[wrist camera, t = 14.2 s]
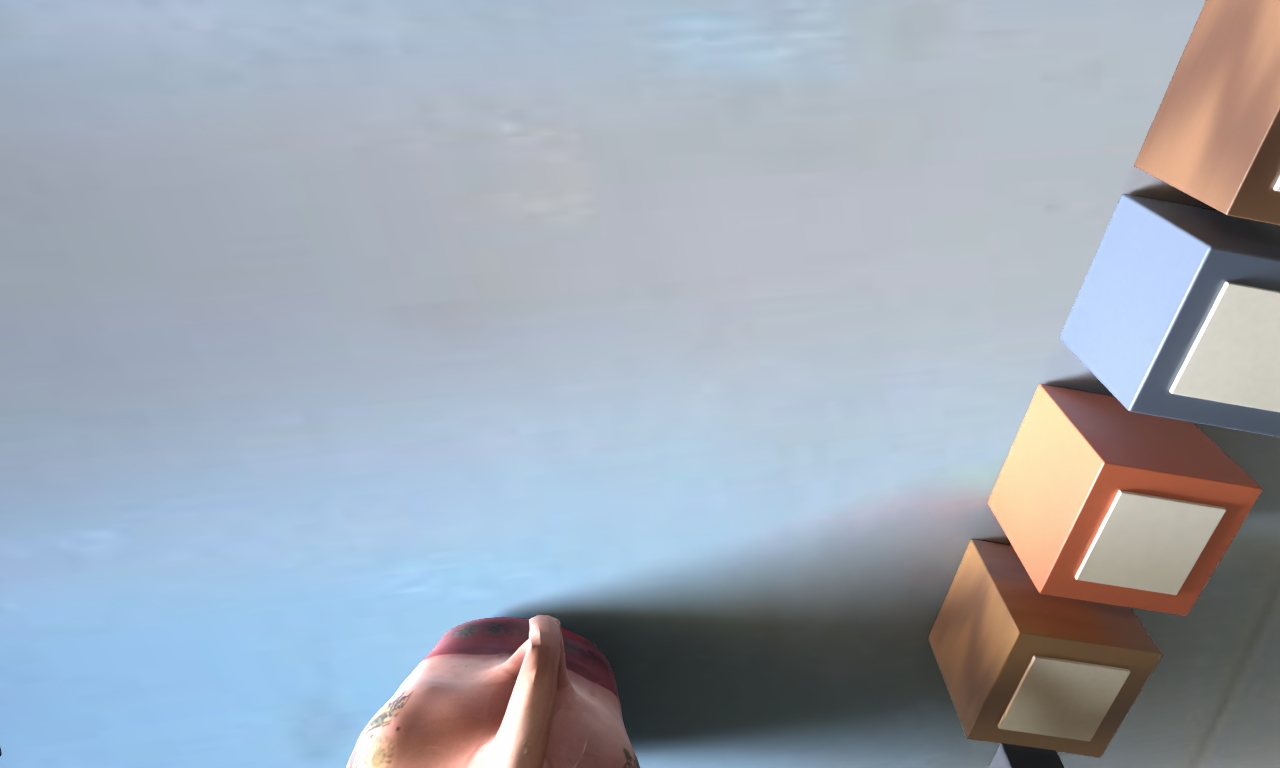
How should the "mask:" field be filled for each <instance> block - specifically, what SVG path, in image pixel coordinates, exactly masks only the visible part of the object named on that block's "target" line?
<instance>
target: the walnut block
mask: <svg viewBox="0 0 1280 768" xmlns="http://www.w3.org/2000/svg"><path fill="white" fill-rule="evenodd" d="M1134 166H1135V167H1137V168H1139V169H1141V170H1143V171H1144V172H1146V173H1148V174H1150V175H1152V176H1154V177H1156V178H1158V179H1160V180H1161V181H1163V182H1165V183H1167V184H1169V185H1171V186H1173V187H1175V188H1177V189H1178V190H1180V191H1182V192H1184V193H1186V194H1188V195H1190V196H1192V197H1194V198H1195V199H1197V200H1199V201H1201V202H1203V203H1205V204H1207V205H1209V206H1211V207H1212V208H1214V209H1216V210H1218V211H1220V212H1222V213H1224V214H1226V215H1229V216H1234V217H1239V218H1245V219H1250V220H1255V221H1260V222H1266V223H1271V224H1276V225H1280V0H1206V2H1205V4H1204V6H1203V9H1202V11H1201V13H1200V16H1199V18H1198V20H1197V22H1196V25H1195V27H1194V29H1193V32H1192V34H1191V36H1190V38H1189V41H1188V43H1187V45H1186V48H1185V50H1184V52H1183V55H1182V57H1181V59H1180V61H1179V64H1178V66H1177V68H1176V71H1175V73H1174V75H1173V77H1172V80H1171V82H1170V84H1169V87H1168V89H1167V91H1166V93H1165V96H1164V98H1163V100H1162V103H1161V105H1160V107H1159V109H1158V112H1157V114H1156V116H1155V119H1154V121H1153V123H1152V126H1151V128H1150V130H1149V132H1148V135H1147V137H1146V139H1145V142H1144V144H1143V146H1142V148H1141V151H1140V153H1139V155H1138V158H1137V160H1136V162H1135V164H1134Z"/></svg>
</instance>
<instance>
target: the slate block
mask: <svg viewBox="0 0 1280 768" xmlns="http://www.w3.org/2000/svg"><path fill="white" fill-rule="evenodd" d="M1060 340H1061V341H1062V342H1063V343H1064V344H1065V345H1066V346H1067V347H1068V348H1069V349H1070V350H1071V351H1072V352H1073V353H1074V354H1075V355H1076V357H1077V358H1078V359H1079V360H1080V361H1081V362H1082V363H1083V364H1084V365H1085V366H1086V367H1087V368H1088V369H1089V370H1090V371H1091V372H1092V373H1093V374H1094V375H1095V376H1096V377H1097V378H1098V379H1099V381H1100V382H1101V383H1102V384H1103V385H1104V386H1105V387H1106V388H1107V389H1108V390H1109V391H1110V392H1111V393H1112V394H1113V395H1114V396H1115V397H1116V398H1117V399H1118V400H1119V401H1120V402H1121V404H1122V405H1123V406H1124V407H1125V408H1126V409H1127V410H1128V411H1130V412H1135V413H1141V414H1147V415H1153V416H1158V417H1164V418H1170V419H1176V420H1182V421H1188V422H1193V423H1199V424H1205V425H1211V426H1217V427H1222V428H1228V429H1234V430H1240V431H1246V432H1252V433H1257V434H1263V435H1269V436H1275V437H1280V226H1279V225H1276V224H1271V223H1266V222H1260V221H1255V220H1250V219H1245V218H1239V217H1234V216H1229V215H1226V214H1224V213H1222V212H1217V211H1212V210H1207V209H1202V208H1197V207H1191V206H1186V205H1181V204H1176V203H1170V202H1165V201H1160V200H1155V199H1149V198H1144V197H1139V196H1134V195H1129V194H1122V195H1121V198H1120V200H1119V202H1118V205H1117V207H1116V209H1115V211H1114V214H1113V216H1112V218H1111V221H1110V223H1109V225H1108V227H1107V230H1106V232H1105V234H1104V237H1103V239H1102V241H1101V244H1100V246H1099V248H1098V250H1097V253H1096V255H1095V257H1094V260H1093V262H1092V264H1091V266H1090V269H1089V271H1088V273H1087V276H1086V278H1085V280H1084V282H1083V285H1082V287H1081V289H1080V292H1079V294H1078V296H1077V298H1076V301H1075V303H1074V305H1073V308H1072V310H1071V312H1070V314H1069V317H1068V319H1067V321H1066V324H1065V326H1064V328H1063V331H1062V333H1061V335H1060Z"/></svg>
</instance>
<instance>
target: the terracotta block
mask: <svg viewBox="0 0 1280 768" xmlns="http://www.w3.org/2000/svg"><path fill="white" fill-rule="evenodd" d="M1262 490H1263V488H1262V487H1261V486H1260V485H1259V484H1257V483H1256V482H1255V481H1254V480H1253V479H1252V478H1251V477H1250V476H1249V475H1248V474H1247V473H1246V472H1245V471H1244V470H1243V469H1242V468H1241V467H1239V466H1238V465H1237V464H1236V463H1235V462H1234V461H1233V460H1232V459H1231V458H1230V457H1229V456H1228V455H1227V454H1226V453H1225V452H1224V451H1222V450H1221V449H1220V448H1219V447H1218V446H1217V445H1216V444H1215V443H1214V442H1213V441H1212V440H1211V439H1210V438H1209V437H1208V436H1207V435H1206V434H1204V433H1203V432H1202V431H1201V430H1200V429H1199V428H1198V427H1197V426H1196V425H1195V424H1194V423H1193V422H1188V421H1182V420H1176V419H1170V418H1164V417H1158V416H1153V415H1147V414H1141V413H1135V412H1130V411H1128V410H1127V409H1126V408H1125V407H1124V406H1123V405H1122V404H1121V402H1120V401H1119V400H1118V399H1117V398H1116V397H1113V396H1108V395H1102V394H1096V393H1090V392H1084V391H1079V390H1073V389H1067V388H1061V387H1055V386H1049V385H1044V384H1039V386H1038V388H1037V390H1036V393H1035V395H1034V397H1033V400H1032V402H1031V404H1030V407H1029V409H1028V411H1027V413H1026V416H1025V418H1024V420H1023V423H1022V425H1021V427H1020V429H1019V432H1018V434H1017V436H1016V439H1015V441H1014V443H1013V446H1012V448H1011V450H1010V452H1009V455H1008V457H1007V459H1006V462H1005V464H1004V466H1003V469H1002V471H1001V473H1000V475H999V478H998V480H997V482H996V485H995V487H994V489H993V491H992V494H991V496H990V498H989V501H988V504H989V506H990V508H991V509H992V511H993V513H994V515H995V516H996V518H997V520H998V522H999V523H1000V525H1001V527H1002V529H1003V530H1004V532H1005V534H1006V536H1007V537H1008V539H1009V541H1010V543H1011V544H1012V546H1013V548H1014V550H1015V551H1016V553H1017V555H1018V557H1019V558H1020V560H1021V562H1022V564H1023V565H1024V567H1025V569H1026V571H1027V572H1028V574H1029V576H1030V578H1031V579H1032V581H1033V583H1034V585H1035V586H1036V588H1037V590H1038V592H1039V593H1040V594H1046V595H1053V596H1059V597H1066V598H1073V599H1079V600H1086V601H1092V602H1099V603H1105V604H1112V605H1118V606H1125V607H1131V608H1138V609H1144V610H1151V611H1157V612H1164V613H1171V614H1177V615H1184V616H1187V615H1188V613H1189V612H1190V610H1191V608H1192V607H1193V605H1194V603H1195V602H1196V600H1197V598H1198V597H1199V595H1200V593H1201V592H1202V590H1203V588H1204V587H1205V585H1206V583H1207V582H1208V580H1209V578H1210V577H1211V575H1212V573H1213V572H1214V570H1215V568H1216V567H1217V565H1218V563H1219V562H1220V560H1221V558H1222V557H1223V555H1224V553H1225V552H1226V550H1227V548H1228V547H1229V545H1230V543H1231V542H1232V540H1233V538H1234V537H1235V535H1236V533H1237V532H1238V530H1239V528H1240V527H1241V525H1242V523H1243V522H1244V520H1245V518H1246V517H1247V515H1248V513H1249V512H1250V510H1251V508H1252V507H1253V505H1254V503H1255V502H1256V500H1257V498H1258V497H1259V495H1260V493H1261V492H1262Z"/></svg>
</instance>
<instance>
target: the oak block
mask: <svg viewBox="0 0 1280 768" xmlns="http://www.w3.org/2000/svg"><path fill="white" fill-rule="evenodd" d="M928 640H929V642H930V645H931V648H932V650H933V653H934V655H935V658H936V661H937V663H938V666H939V668H940V671H941V674H942V676H943V679H944V681H945V684H946V687H947V689H948V692H949V694H950V697H951V700H952V702H953V705H954V707H955V710H956V713H957V715H958V718H959V720H960V723H961V726H962V728H963V731H964V733H965V736H966V738H967V739H971V740H978V741H985V742H992V743H999V744H1001V743H1006V744H1013V745H1020V746H1027V747H1034V748H1042V749H1049V750H1056V752H1064V753H1071V754H1078V755H1085V756H1092V757H1099V758H1100V757H1101V756H1102V755H1103V753H1104V751H1105V750H1106V748H1107V747H1108V745H1109V743H1110V742H1111V740H1112V738H1113V737H1114V735H1115V733H1116V732H1117V730H1118V728H1119V727H1120V725H1121V723H1122V722H1123V720H1124V718H1125V717H1126V715H1127V713H1128V712H1129V710H1130V708H1131V707H1132V705H1133V703H1134V702H1135V700H1136V698H1137V697H1138V695H1139V693H1140V692H1141V690H1142V688H1143V687H1144V685H1145V683H1146V682H1147V680H1148V678H1149V677H1150V675H1151V673H1152V672H1153V670H1154V668H1155V667H1156V665H1157V663H1158V662H1159V660H1160V658H1161V657H1162V652H1161V651H1160V649H1159V648H1158V647H1157V645H1156V644H1155V642H1154V641H1153V639H1152V638H1151V636H1150V635H1149V633H1148V632H1147V631H1146V629H1145V628H1144V626H1143V625H1142V623H1141V622H1140V620H1139V619H1138V618H1137V616H1136V615H1135V613H1134V612H1133V610H1132V609H1131V607H1125V606H1118V605H1112V604H1105V603H1099V602H1092V601H1086V600H1079V599H1073V598H1066V597H1059V596H1053V595H1046V594H1040V593H1039V592H1038V590H1037V588H1036V586H1035V585H1034V583H1033V581H1032V579H1031V578H1030V576H1029V574H1028V572H1027V571H1026V569H1025V567H1024V565H1023V564H1022V562H1021V560H1020V558H1019V557H1018V555H1017V553H1016V551H1015V550H1014V548H1013V546H1012V545H1006V544H1000V543H993V542H987V541H981V540H974V539H971V540H970V543H969V545H968V547H967V550H966V552H965V554H964V556H963V559H962V561H961V563H960V566H959V568H958V570H957V573H956V575H955V577H954V579H953V582H952V584H951V586H950V589H949V591H948V593H947V595H946V598H945V600H944V602H943V605H942V607H941V609H940V611H939V614H938V616H937V618H936V621H935V623H934V625H933V627H932V630H931V632H930V634H929V637H928Z"/></svg>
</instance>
